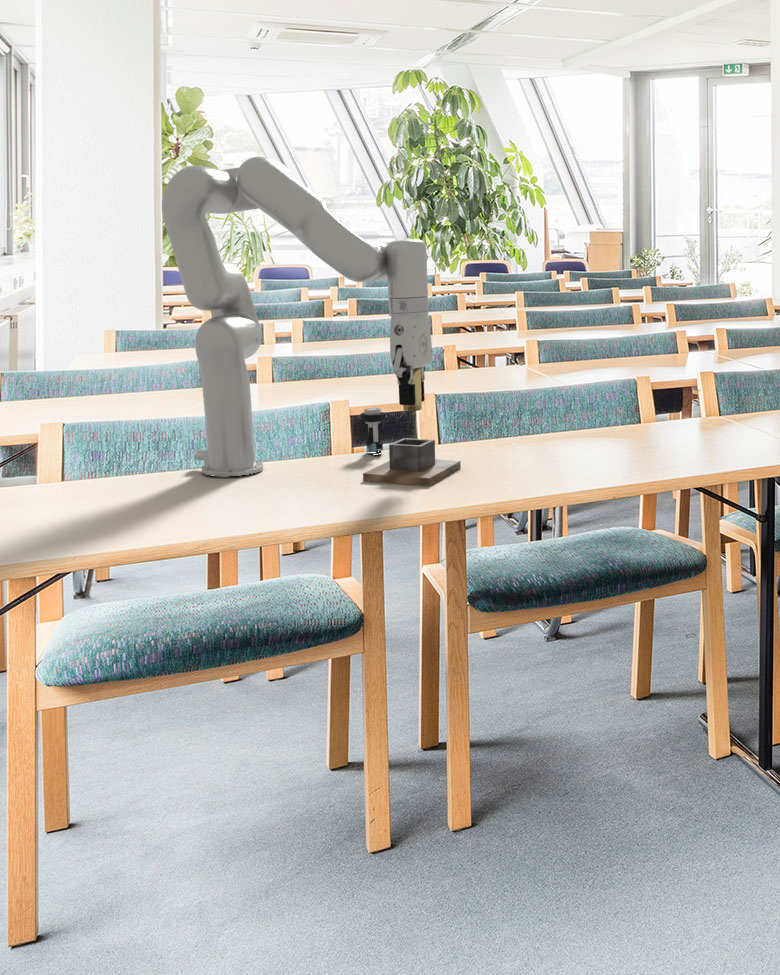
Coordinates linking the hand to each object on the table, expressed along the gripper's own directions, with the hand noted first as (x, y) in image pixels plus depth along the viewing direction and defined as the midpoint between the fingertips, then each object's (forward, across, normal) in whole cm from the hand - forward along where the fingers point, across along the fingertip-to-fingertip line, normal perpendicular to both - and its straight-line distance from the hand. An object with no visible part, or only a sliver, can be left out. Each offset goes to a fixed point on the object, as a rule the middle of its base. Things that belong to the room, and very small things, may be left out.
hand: (412, 402), depth 181 cm
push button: (+15, +15, +16) cm, 27 cm away
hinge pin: (+1, 0, 0) cm, 1 cm away
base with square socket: (+14, 0, 0) cm, 14 cm away
